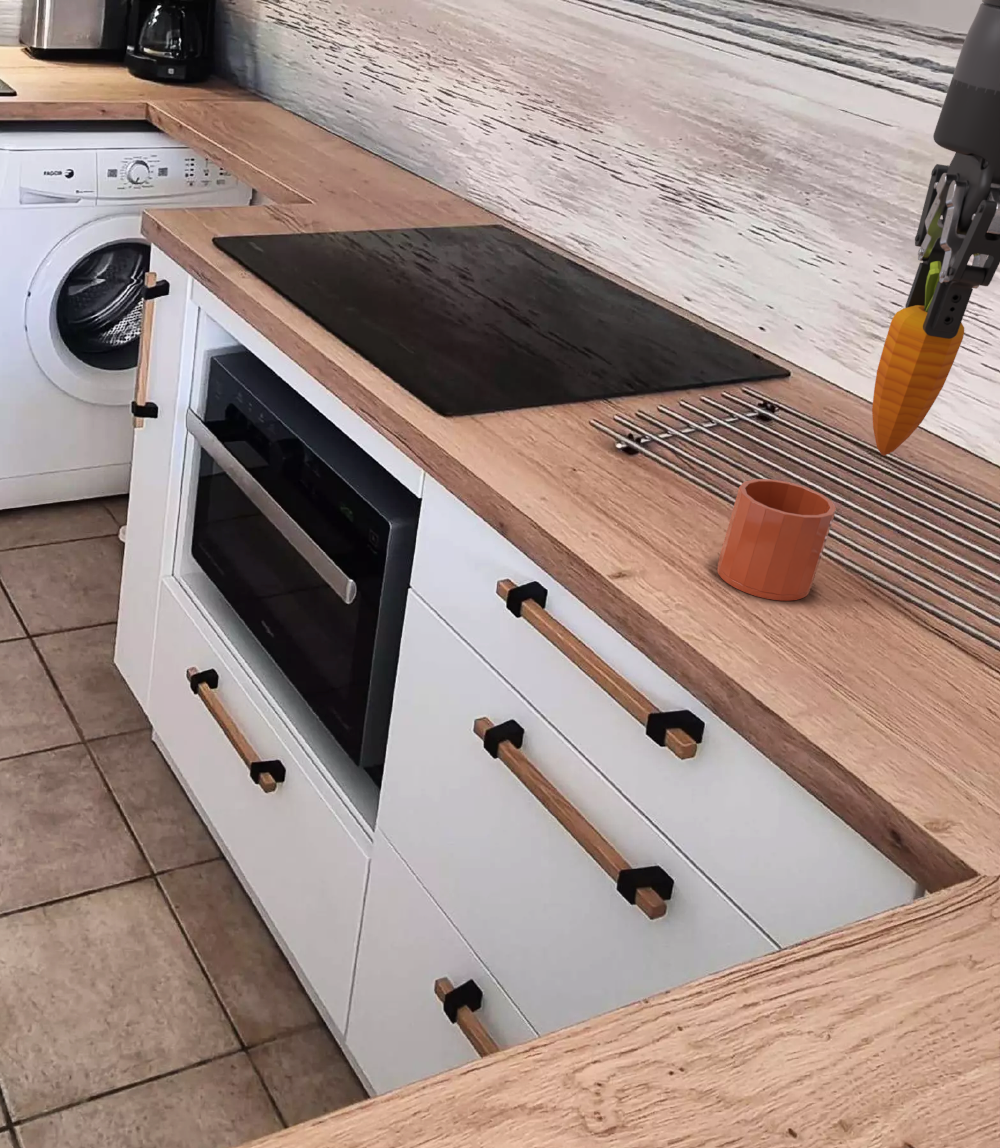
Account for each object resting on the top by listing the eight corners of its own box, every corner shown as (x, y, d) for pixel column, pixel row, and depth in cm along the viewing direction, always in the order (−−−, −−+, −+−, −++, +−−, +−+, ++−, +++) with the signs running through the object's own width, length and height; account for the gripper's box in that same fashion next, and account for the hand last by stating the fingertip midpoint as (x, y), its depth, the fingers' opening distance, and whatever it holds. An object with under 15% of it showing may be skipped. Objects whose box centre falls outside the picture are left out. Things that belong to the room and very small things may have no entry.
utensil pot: (801, 568, 137) (826, 488, 133) (816, 607, 130) (843, 523, 126) (712, 553, 138) (734, 473, 134) (722, 591, 130) (746, 507, 127)
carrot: (852, 436, 117) (916, 247, 110) (919, 453, 115) (988, 262, 108) (846, 455, 113) (911, 260, 106) (915, 474, 111) (986, 277, 104)
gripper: (1107, 108, 95) (1010, 364, 102) (1036, 76, 107) (955, 306, 115) (985, 90, 95) (898, 346, 103) (929, 60, 108) (855, 290, 116)
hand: (928, 323), depth 109 cm, fingers closed on carrot, 4 cm apart
